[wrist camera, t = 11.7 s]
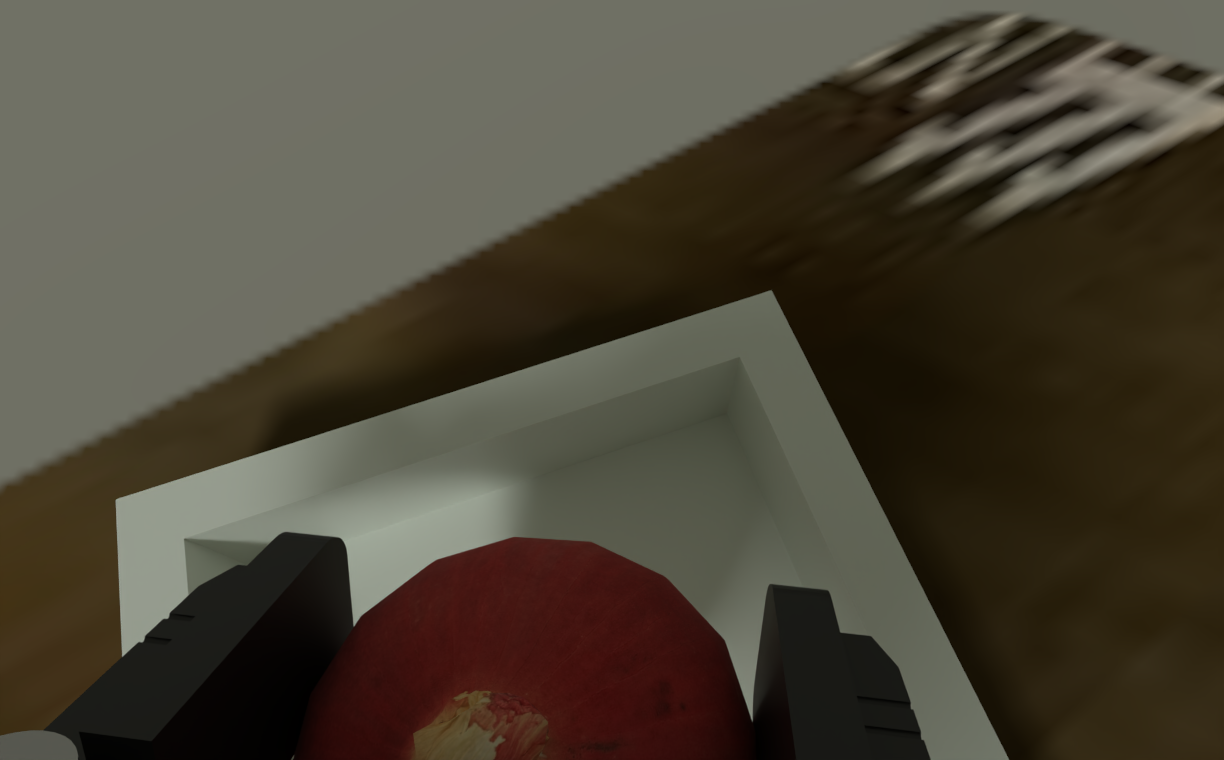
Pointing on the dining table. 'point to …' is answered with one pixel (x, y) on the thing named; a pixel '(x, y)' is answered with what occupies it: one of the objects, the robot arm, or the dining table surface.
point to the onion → (530, 666)
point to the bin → (591, 497)
